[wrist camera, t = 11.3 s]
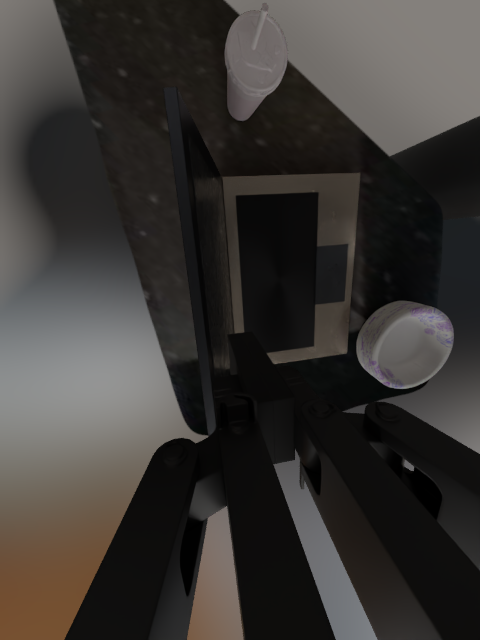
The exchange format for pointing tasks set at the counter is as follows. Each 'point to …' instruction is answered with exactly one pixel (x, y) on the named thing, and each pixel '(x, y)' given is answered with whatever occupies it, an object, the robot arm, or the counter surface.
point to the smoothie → (253, 61)
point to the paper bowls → (405, 343)
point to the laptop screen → (202, 245)
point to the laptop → (292, 260)
